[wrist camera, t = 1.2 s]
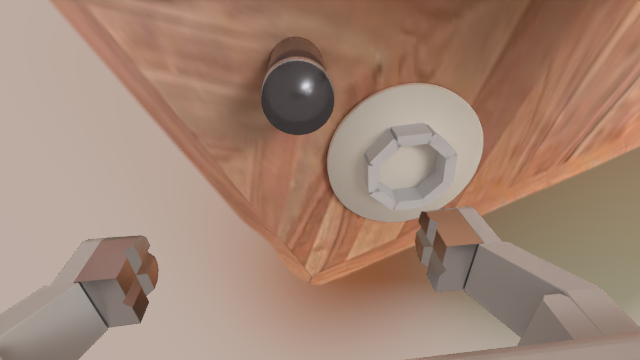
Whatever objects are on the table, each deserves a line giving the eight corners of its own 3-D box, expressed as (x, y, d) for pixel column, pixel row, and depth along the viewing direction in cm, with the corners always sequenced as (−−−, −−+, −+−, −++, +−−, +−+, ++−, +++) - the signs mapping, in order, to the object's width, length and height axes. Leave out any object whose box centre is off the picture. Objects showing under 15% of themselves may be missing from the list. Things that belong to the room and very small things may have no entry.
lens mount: (493, 72, 33) (512, 82, 30) (466, 208, 43) (478, 225, 40) (319, 93, 33) (322, 105, 30) (332, 224, 43) (335, 243, 40)
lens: (321, 32, 30) (332, 58, 22) (326, 89, 33) (338, 131, 25) (263, 39, 30) (252, 67, 22) (273, 96, 33) (267, 139, 25)
